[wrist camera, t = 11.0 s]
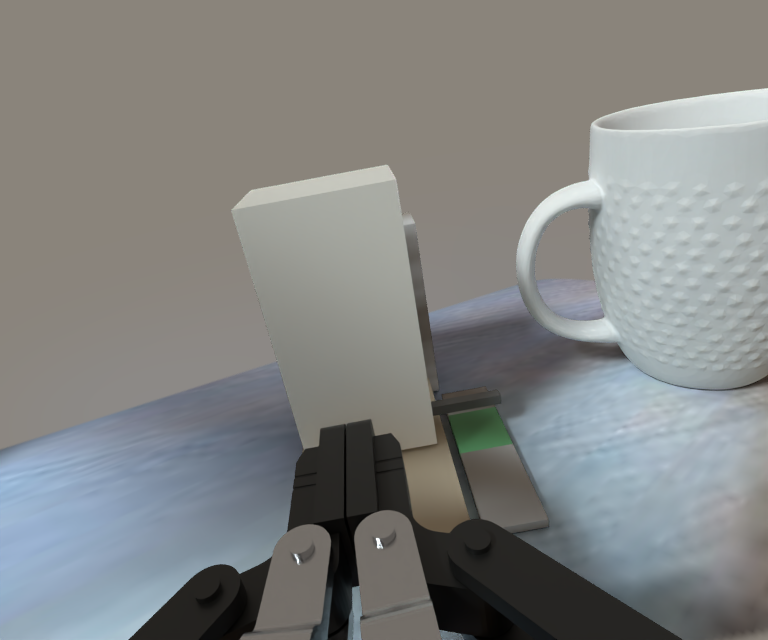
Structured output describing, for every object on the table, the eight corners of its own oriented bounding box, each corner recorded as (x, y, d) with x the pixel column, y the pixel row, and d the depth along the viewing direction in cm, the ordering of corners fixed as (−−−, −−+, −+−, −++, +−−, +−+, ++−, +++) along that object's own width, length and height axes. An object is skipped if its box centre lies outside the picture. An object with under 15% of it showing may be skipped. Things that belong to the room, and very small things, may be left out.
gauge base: (559, 548, 18) (552, 304, 14) (280, 598, 18) (191, 370, 14) (471, 361, 31) (454, 203, 27) (307, 391, 31) (264, 239, 27)
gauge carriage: (512, 429, 23) (493, 161, 18) (309, 466, 23) (230, 210, 18) (489, 383, 26) (467, 149, 21) (314, 415, 26) (250, 190, 21)
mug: (548, 440, 24) (538, 158, 18) (505, 334, 33) (490, 131, 28) (889, 403, 22) (994, 82, 16) (738, 303, 32) (772, 82, 26)
